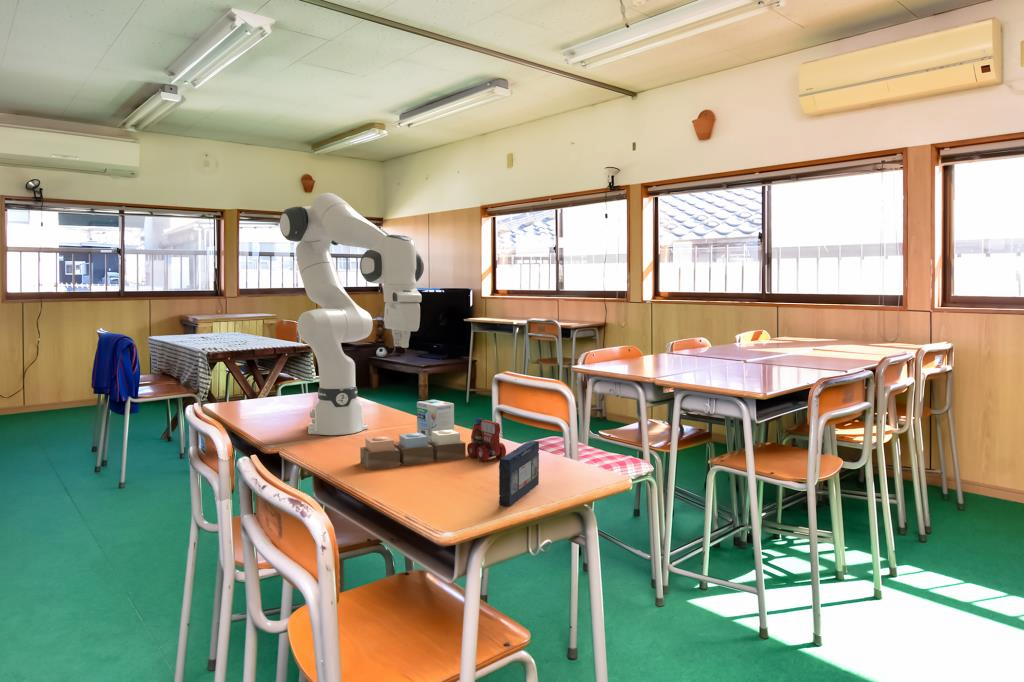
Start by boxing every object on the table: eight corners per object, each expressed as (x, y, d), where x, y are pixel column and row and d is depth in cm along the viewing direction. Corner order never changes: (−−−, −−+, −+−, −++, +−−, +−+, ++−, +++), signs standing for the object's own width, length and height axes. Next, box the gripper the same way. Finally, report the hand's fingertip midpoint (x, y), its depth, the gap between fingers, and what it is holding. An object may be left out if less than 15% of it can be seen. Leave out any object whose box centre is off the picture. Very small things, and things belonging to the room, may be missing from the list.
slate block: (399, 449, 180) (399, 433, 179) (420, 447, 182) (420, 431, 182) (406, 454, 175) (406, 437, 174) (427, 451, 177) (427, 435, 177)
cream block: (431, 446, 184) (431, 430, 183) (451, 443, 186) (451, 428, 186) (439, 450, 179) (439, 434, 178) (460, 448, 181) (459, 432, 181)
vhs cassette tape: (509, 507, 139) (509, 459, 138) (496, 506, 140) (496, 458, 140) (541, 484, 156) (541, 441, 155) (529, 483, 157) (528, 440, 156)
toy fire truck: (484, 451, 188) (484, 414, 188) (509, 460, 178) (509, 421, 177) (462, 455, 185) (462, 416, 184) (487, 464, 174) (486, 424, 174)
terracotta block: (365, 453, 176) (365, 437, 175) (387, 451, 178) (387, 434, 178) (371, 458, 170) (371, 441, 170) (394, 455, 173) (393, 439, 173)
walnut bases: (360, 462, 176) (360, 447, 176) (454, 451, 188) (454, 437, 188) (368, 469, 169) (368, 453, 169) (465, 457, 181) (465, 442, 181)
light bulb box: (416, 436, 208) (415, 401, 208) (434, 433, 213) (433, 399, 212) (437, 442, 200) (436, 405, 200) (455, 438, 205) (454, 403, 204)
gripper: (378, 295, 191) (379, 344, 192) (400, 295, 173) (401, 350, 174) (399, 295, 194) (400, 343, 195) (423, 295, 176) (424, 349, 177)
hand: (401, 346), depth 185 cm, fingers open, 5 cm apart
